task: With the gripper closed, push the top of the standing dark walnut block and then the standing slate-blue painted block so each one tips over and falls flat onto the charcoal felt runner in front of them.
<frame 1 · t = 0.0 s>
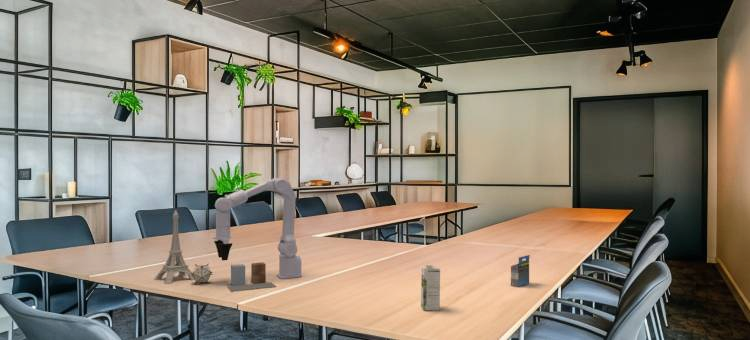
hand: (223, 258, 213), 10 cm above the table, tool pointing down, fingers open, 7 cm apart
felt runner: (251, 287, 206), on the table
syrup box: (430, 309, 176), on the table
slate block: (238, 284, 210), on the table
grey faceted ornament: (201, 283, 212), on the table
eiffel tower: (175, 280, 220), on the table
label tape cartridge: (520, 285, 211), on the table
walnut block: (258, 282, 214), on the table
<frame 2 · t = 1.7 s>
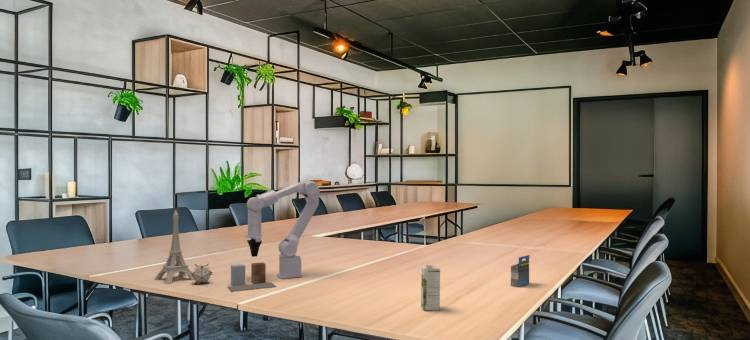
hand: (254, 256, 220), 10 cm above the table, tool pointing down, fingers closed
nothing on the table moved.
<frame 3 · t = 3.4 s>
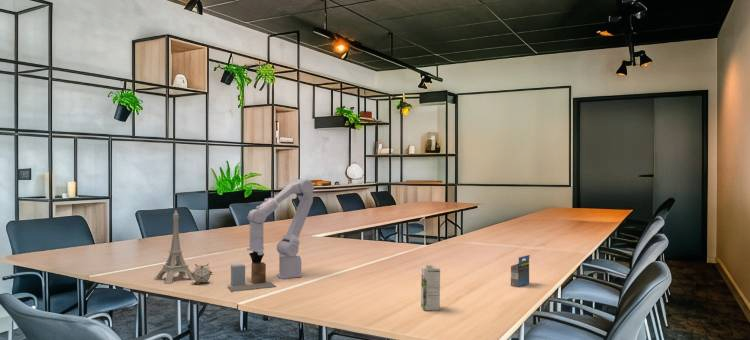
hand: (256, 269, 217), 5 cm above the table, tool pointing down, fingers closed
walnut block: (258, 282, 214), on the table, touching gripper
everything else where it was.
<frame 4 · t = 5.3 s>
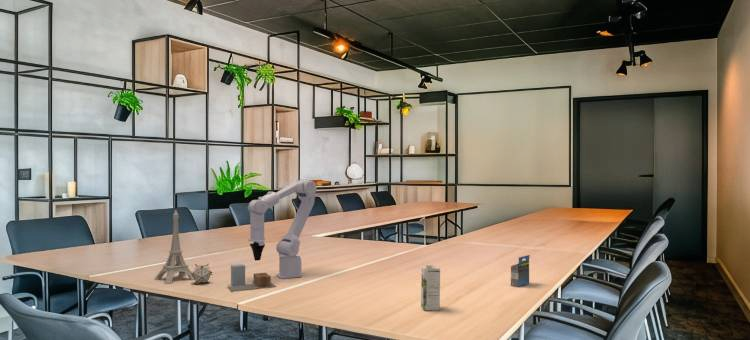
hand: (257, 260, 216), 9 cm above the table, tool pointing down, fingers closed
walnut block: (259, 277, 212), point 2 cm above the table, tilted 90°, touching felt runner
everything else where it was.
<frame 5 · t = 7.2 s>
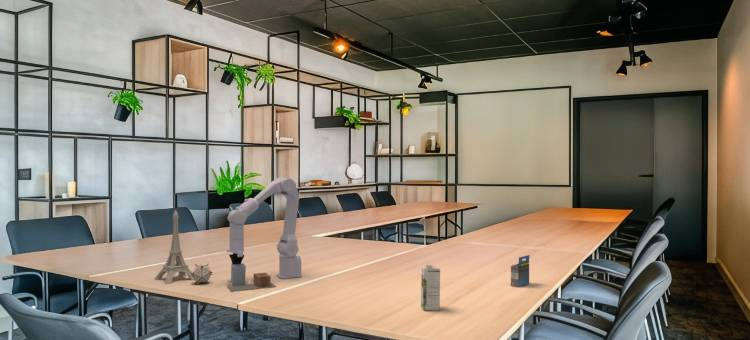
hand: (236, 271, 212), 5 cm above the table, tool pointing down, fingers closed
slate block: (238, 284, 210), on the table, tilted 6°
everything else where it was.
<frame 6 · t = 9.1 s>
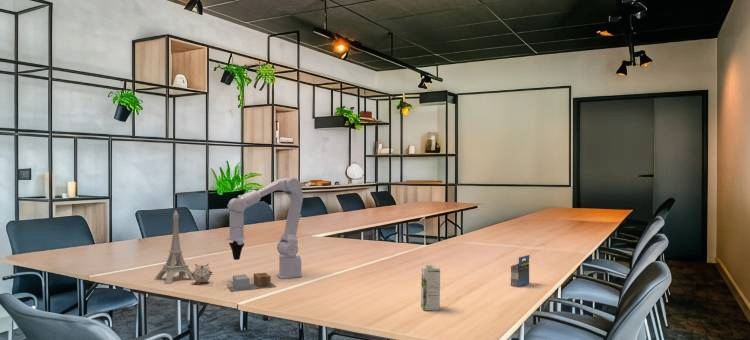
hand: (236, 259, 213), 10 cm above the table, tool pointing down, fingers closed
slate block: (239, 279, 208), point 2 cm above the table, tilted 90°, touching felt runner
everything else where it was.
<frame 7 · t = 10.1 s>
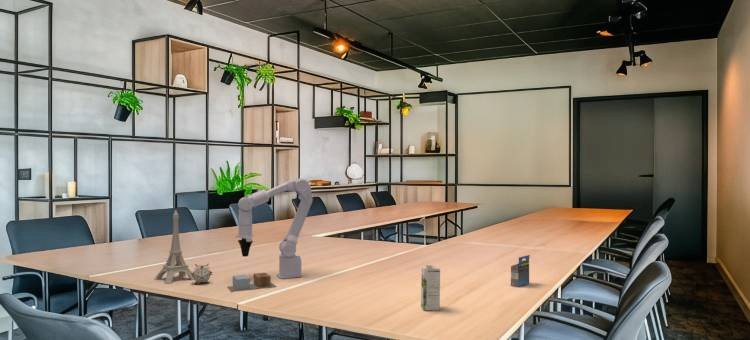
hand: (245, 256, 220), 10 cm above the table, tool pointing down, fingers closed
nothing on the table moved.
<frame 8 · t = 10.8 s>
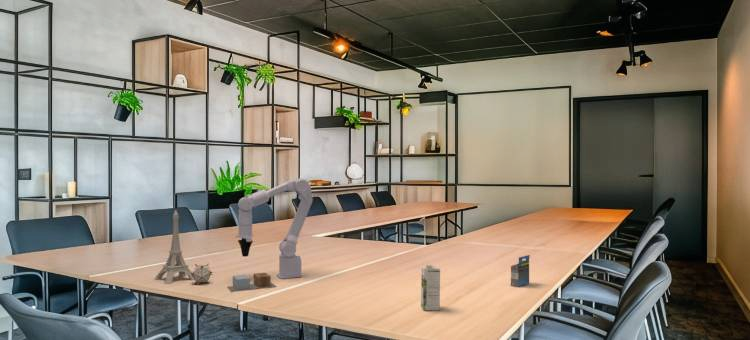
hand: (245, 256, 220), 10 cm above the table, tool pointing down, fingers closed
nothing on the table moved.
at the end: walnut block tilted 90°; slate block tilted 90°; walnut block moved 3.0 cm from its start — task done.
